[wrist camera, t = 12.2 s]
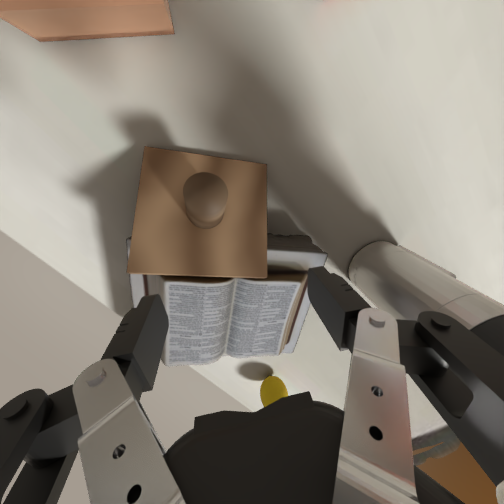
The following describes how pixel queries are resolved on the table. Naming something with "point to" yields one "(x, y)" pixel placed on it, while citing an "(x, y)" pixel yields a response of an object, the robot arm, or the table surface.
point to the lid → (199, 216)
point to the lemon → (272, 390)
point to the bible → (235, 306)
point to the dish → (88, 18)
